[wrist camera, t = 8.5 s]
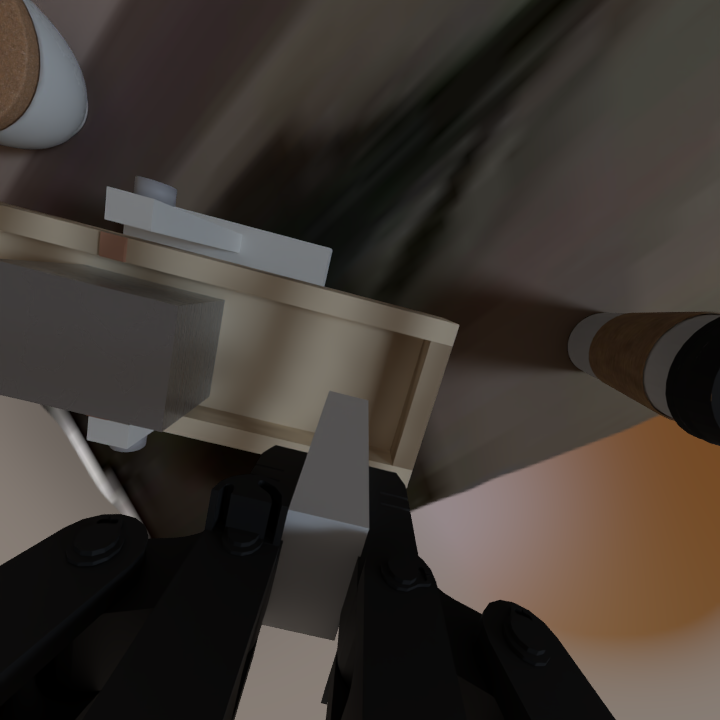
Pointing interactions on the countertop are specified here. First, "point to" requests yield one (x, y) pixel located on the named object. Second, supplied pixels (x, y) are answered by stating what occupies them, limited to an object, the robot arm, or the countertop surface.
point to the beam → (272, 342)
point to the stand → (207, 237)
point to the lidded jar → (37, 80)
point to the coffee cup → (657, 363)
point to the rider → (105, 342)
